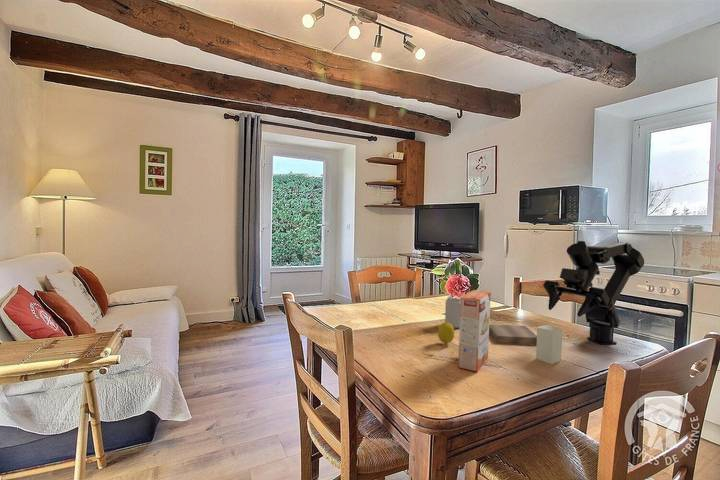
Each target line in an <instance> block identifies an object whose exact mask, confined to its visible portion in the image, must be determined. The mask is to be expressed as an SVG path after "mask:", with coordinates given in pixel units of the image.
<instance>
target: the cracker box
mask: <svg viewBox="0 0 720 480" xmlns="http://www.w3.org/2000/svg"><path fill="white" fill-rule="evenodd" d="M491 295H492V293H491V291H487V290H477V289H473V290H471V291H469V292H468V293H466V294H464V295H462V296H460V297H461V308H460V328H459V337H458V338H459V340H458V341H459V342H458V361H457V362H458V364H457V365H458V366H457V367H458V368H459V369H463V370H467V371H471V372H476V373H478V372H479V370H480V369H481V367H482V366H483V364H484V363H485V362H486V360H487V359H488V358H489V342H490V339H489V338H490V333H489V324H490V318H491V317H490V316H491V299H492V298H491V297H492V296H491Z"/></svg>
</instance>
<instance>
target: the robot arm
mask: <svg viewBox="0 0 720 480" xmlns="http://www.w3.org/2000/svg"><path fill="white" fill-rule="evenodd" d="M566 253H567V255H568V257H569V259H570V260H571V262H572V264H573V265H574V266H576V269H573V268H565V267H563V268H561V271H560V275H559V278H560V279H561V280H563V284H564V285H566V286H563V285H560V283H559V281H556V280H555V281H554V280H550V279H549V280H547V279H546V280H545V281H544V282H543V285H542V287H543V288H544V290H545V291H546V293H547V294H548V297H549V298H548V305H547V306H548V310H549V311H552V309H554V307H555V306H556V305H557V303H558V302H559V301H560V300H561V296H562V295H563V294H567V295H568V294H569V295H573V296H577V297H583V298H584V301H583V302H582V304H581V306H580V308H579V309H578V312H577V314H576V315H577V317H582V316H584V315H585V321H586V323H589V324H590V327H589V336H587V337H586V339H587V340H590V341H592V342H594V343H597V344H599V345H614V344H615V345H617V344H618V343H617V341H615V340H614V328H615V329H618V328H619V326H620V321H621V320H620V318H619V316H618V314H617V309H616V305H615V304H616V302H617V301H618V299H619V297H620V295H621V293H622V292H623V290H624V288H625V286H626V284H627V283H628V280H629V278H630V277H631V276H635V274H638V273H639V272H640V271H641V270H642V269H643V267H644V265H645V258H644V256H643V254H642V252H640V251H639V250H637V249H635V248H634V247H633V246H632V244H631V243H629V242H624V241H623V242H621V241H620V242H617V241H616V242H612V243H610V244H606V245H602V246H594V245H587V243H586V242H585V241H584V240H578V241H577V242H576V243H573V244H571V245H569V246H568V247H567V248H566ZM611 259H612V261H613V264H614V267H615V268H614V271H613V274H611V277H610V278H609V280H608V282H607V283H606V286H605V287H604V288H600V287H595V286H593V285H594V284H593V280H594V278H595V277H596V275H597V276H598V275H600V274H601V272H600V268H599V266H598V264H599V265H600V264H601V265H603V264H604V265H605V264H607V263H608V262H609V261H610V260H611Z"/></svg>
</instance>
